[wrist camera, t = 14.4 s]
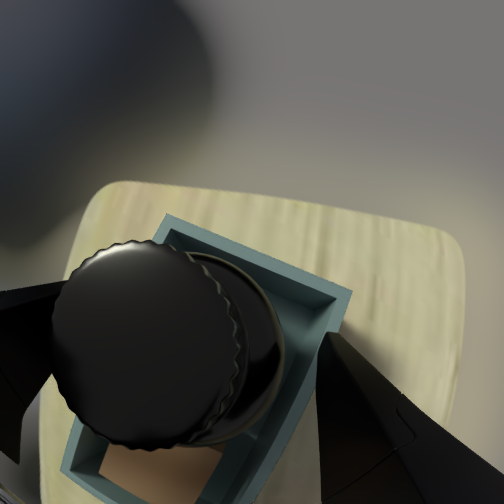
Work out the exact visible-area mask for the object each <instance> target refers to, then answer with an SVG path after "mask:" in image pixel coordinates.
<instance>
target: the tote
mask: <svg viewBox="0 0 504 504" xmlns="http://www.w3.org/2000/svg"><path fill="white" fill-rule="evenodd" d="M152 241H154V242H156V243H157V244H170V245H171V246H172V247H174V248H175V249H176V250H177V251H181V252H198V253H204V254H208V255H212V256H215V257H218V258H220V259H223V260H226V261H227V262H229V263H231V264H233V265H235V266H237V267H238V268H240V269H241V270H243V271H244V272H245V273H246V274H248V275H249V276H250V277H251V278H252V279H253V280H254V281H255V282H256V283H257V284H258V285H259V286H260V287H261V288H262V290H263V291H264V292H265V294H266V295H267V296H268V298H269V299H270V301H271V303H272V305H273V307H274V308H275V311H276V313H277V315H278V318H279V320H280V324H281V327H282V330H283V335H284V342H285V365H284V372H283V376H282V380H281V383H280V386H279V389H278V391H277V393H276V396H275V398H274V399H273V401H272V403H271V405H270V406H269V408H268V409H267V410H266V412H265V413H264V414H263V416H262V417H261V418H260V419H259V420H258V421H257V422H256V423H255V424H254V425H253V426H251V427H250V428H249V429H248V430H246V431H245V432H243V433H242V434H240V435H239V436H237V437H235V438H233V439H231V440H229V441H226V445H225V448H224V452H223V455H222V456H221V458H220V460H219V462H218V464H217V465H216V467H215V469H214V471H213V473H212V474H211V476H210V478H209V480H208V481H207V483H206V485H205V487H204V488H203V490H202V492H201V494H200V495H199V497H198V499H197V500H196V502H195V504H252V503H253V502H254V500H255V498H256V497H257V495H258V494H259V492H260V490H261V489H262V487H263V486H264V484H265V482H266V481H267V479H268V477H269V475H270V474H271V472H272V470H273V469H274V467H275V465H276V463H277V462H278V460H279V458H280V456H281V454H282V453H283V451H284V449H285V447H286V445H287V443H288V441H289V440H290V438H291V436H292V434H293V432H294V430H295V428H296V426H297V424H298V422H299V420H300V418H301V416H302V414H303V412H304V410H305V408H306V406H307V403H308V401H309V399H310V397H311V395H312V393H313V391H314V388H315V386H316V372H317V354H318V350H319V347H320V344H321V342H322V340H323V337H324V335H325V333H326V332H327V331H330V332H337V333H338V331H339V328H340V326H341V323H342V320H343V317H344V315H345V312H346V309H347V306H348V304H349V301H350V298H351V295H352V292H353V291H352V290H349V289H347V288H345V287H342V286H340V285H337V284H335V283H333V282H330V281H328V280H325V279H323V278H321V277H318V276H316V275H313V274H311V273H309V272H306V271H304V270H302V269H299V268H297V267H294V266H292V265H290V264H287V263H285V262H282V261H280V260H278V259H275V258H273V257H270V256H268V255H266V254H263V253H261V252H258V251H256V250H254V249H251V248H249V247H246V246H244V245H242V244H239V243H237V242H234V241H232V240H230V239H227V238H225V237H222V236H220V235H218V234H215V233H213V232H210V231H208V230H206V229H203V228H201V227H198V226H196V225H193V224H191V223H189V222H186V221H184V220H181V219H179V218H177V217H174V216H172V215H169V214H166V215H165V217H164V219H163V221H162V222H161V224H160V226H159V228H158V230H157V232H156V233H155V235H154V237H153V239H152ZM109 444H110V443H109V442H108V441H107V440H106V439H105V438H103V437H98V436H96V435H95V434H94V433H93V432H92V431H91V430H90V428H89V427H87V426H85V425H83V424H82V423H81V422H80V421H79V419H78V417H77V416H75V419H74V422H73V426H72V429H71V432H70V435H69V439H68V442H67V446H66V449H65V453H64V456H63V460H62V464H61V468H60V471H61V472H62V473H63V474H65V475H66V476H67V477H68V478H70V479H71V480H72V481H74V482H75V483H76V484H78V485H79V486H81V487H82V488H83V489H85V490H86V491H88V492H89V493H91V494H92V495H94V496H95V497H97V498H98V499H100V500H101V501H103V502H104V503H106V504H150V503H148V502H146V501H144V500H142V499H141V498H139V497H137V496H135V495H133V494H132V493H130V492H128V491H126V490H125V489H123V488H121V487H120V486H118V485H117V484H115V483H113V482H112V481H110V480H109V479H107V478H106V477H104V476H103V475H101V474H100V473H99V470H100V467H101V465H102V462H103V459H104V457H105V454H106V452H107V449H108V447H109Z"/></svg>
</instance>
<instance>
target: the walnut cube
mask: <svg viewBox="0 0 504 504" xmlns="http://www.w3.org/2000/svg"><path fill="white" fill-rule="evenodd" d="M225 445H226V442H223V443H220V444H217V445H213V446H208V447H202V448H182V447H175V448H173V449H162V448H160V449H158V450H156V451H153V452H148V451H144V450H142V449H138V450H129V449H127V448H125V447H124V446H122V445H112V444H111V443H110V444H109V447H108V449H107V452H106V454H105V457H104V459H103V462H102V465H101V467H100V470H99V473H100V474H101V475H103V476H104V477H106V478H107V479H109V480H110V481H112V482H113V483H115V484H117V485H118V486H120V487H121V488H123V489H125V490H126V491H128V492H130V493H132V494H133V495H135V496H137V497H139V498H141V499H142V500H144V501H146V502H148V503H150V504H195V502H196V500H197V499H198V497H199V495H200V494H201V492H202V490H203V488H204V487H205V485H206V483H207V481H208V480H209V478H210V476H211V474H212V473H213V471H214V469H215V467H216V465H217V464H218V462H219V460H220V458H221V456H222V455H223V452H224V448H225Z"/></svg>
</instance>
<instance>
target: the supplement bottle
mask: <svg viewBox="0 0 504 504" xmlns="http://www.w3.org/2000/svg"><path fill="white" fill-rule="evenodd" d="M48 342H49V346H50V347H49V359H50V361H51V364H52V374H53V376H54V378H55V380H56V381H57V385H58V389H59V392H60V394H61V395H62V396H63V397H64V398H65V400H66V403H67V405H68V408H69V409H70V410H71V411H72V412H74V413H75V414H76V416H77V417H78V419H79V421H80V422H81V423H82V424H83V425H85V426H87V427H89V428H90V430H91V431H92V432H93V433H94V434H95V435H96V436H98V437H103V438H105V439H106V440H107V441H108V442H109V443H111V444H112V445H122V446H124V447H125V448H127V449H129V450H138V449H142V450H144V451H148V452H153V451H156V450H158V449H160V448H162V449H173V448H175V447H182V448H202V447H208V446H213V445H217V444H220V443H223V442H226V441H229V440H231V439H233V438H235V437H237V436H239V435H240V434H242V433H243V432H245V431H246V430H248V429H249V428H250V427H251V426H253V425H254V424H255V423H256V422H257V421H258V420H259V419H260V418H261V417H262V416H263V414H264V413H265V412H266V410H267V409H268V408H269V406H270V405H271V403H272V401H273V399H274V398H275V396H276V393H277V391H278V389H279V386H280V383H281V380H282V376H283V372H284V365H285V342H284V335H283V330H282V327H281V324H280V320H279V318H278V315H277V313H276V311H275V308H274V307H273V305H272V303H271V301H270V299H269V298H268V296H267V295H266V294H265V292H264V291H263V290H262V288H261V287H260V286H259V285H258V284H257V283H256V282H255V281H254V280H253V279H252V278H251V277H250V276H249V275H248V274H246V273H245V272H244V271H243V270H241V269H240V268H238V267H237V266H235V265H233V264H231V263H229V262H227V261H226V260H223V259H220V258H218V257H215V256H212V255H208V254H204V253H198V252H181V251H177V250H176V249H175V248H174V247H172V246H171V245H170V244H157V243H156V242H154V241H152V240H146V241H143V242H138V241H136V240H130V241H127V242H126V243H124V244H121V243H114V244H113V245H111V246H110V247H109V248H107V249H100V250H98V251H97V252H96V253H95V254H94V255H93V256H92V257H89V258H87V259H85V260H84V261H83V262H82V264H81V265H80V267H79V268H77V269H75V270H74V271H72V273H71V275H70V277H69V280H68V281H67V282H66V283H65V284H64V285H63V286H62V289H61V292H60V295H59V297H58V298H57V299H56V301H55V304H54V312H53V313H52V315H51V318H50V331H49V334H48Z"/></svg>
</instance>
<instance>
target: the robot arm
mask: <svg viewBox="0 0 504 504" xmlns="http://www.w3.org/2000/svg"><path fill="white" fill-rule="evenodd" d="M67 281H68V280H65V281H59V282H54V283H48V284H42V285H36V286H30V287H24V288H18V289H12V290H7V291H5V290H4V291H0V451H2V452H3V453H4V454H5V455H6V456H8V457H9V458H10V459H11V460H12V461H14V462H15V463H16V464H18V465H19V463H20V443H21V430H22V419H23V416H24V414H25V412H26V410H27V408H28V407H29V405H30V404H31V402H32V401H33V400H34V398H35V396H36V395H37V394H38V392H39V391H40V389H41V388H42V387H43V385H44V384H45V382H46V381H47V379H48V378H49V377H50V375H51V374H52V364H51V361H50V359H49V347H50V346H49V342H48V334H49V331H50V318H51V315H52V313H53V312H54V304H55V301H56V299H57V298H58V297H59V295H60V292H61V289H62V286H63V285H64V284H65V283H66V282H67ZM316 405H317V419H318V434H319V452H320V475H321V502H322V503H321V504H504V474H502V473H501V472H500V471H498V470H497V469H496V468H494V467H493V466H491V465H490V464H489V463H488V462H486V461H485V460H484V459H483V458H481V457H480V456H479V455H477V454H476V453H475V452H473V451H472V450H471V449H469V448H468V447H467V446H466V445H464V444H463V443H462V442H460V441H459V440H458V439H456V438H455V437H454V436H452V435H451V434H450V433H449V432H447V431H446V430H445V429H444V428H442V427H441V426H440V425H439V424H437V423H436V422H435V421H433V420H432V419H431V418H430V417H429V416H427V415H426V414H425V413H424V412H422V411H421V410H420V409H419V408H418V407H417V406H416V405H415V404H413V403H412V402H411V401H410V400H409V399H408V398H407V397H406V396H405V395H404V394H401V392H400V391H399V390H398V389H397V388H396V387H395V386H394V385H393V384H392V383H391V382H390V381H388V380H387V379H386V378H385V377H384V376H383V375H382V374H381V373H380V372H379V371H378V370H377V369H376V368H375V367H374V366H373V365H372V364H371V363H369V362H368V361H367V360H366V359H365V358H364V357H363V356H362V355H361V354H360V353H359V352H358V351H357V350H356V349H355V348H354V347H353V346H352V345H351V344H349V343H348V342H347V341H346V340H345V339H344V338H343V337H342V336H341V335H340V334H339V333H337V332H330V331H327V332H326V333H325V335H324V337H323V340H322V342H321V344H320V347H319V350H318V354H317V372H316ZM0 504H26V503H24V502H23V501H22V500H20V499H19V498H18V497H16V496H15V495H14V494H13V493H12V492H10V491H9V490H8V489H7V488H6V487H4V486H3V485H2V484H1V483H0Z"/></svg>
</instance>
